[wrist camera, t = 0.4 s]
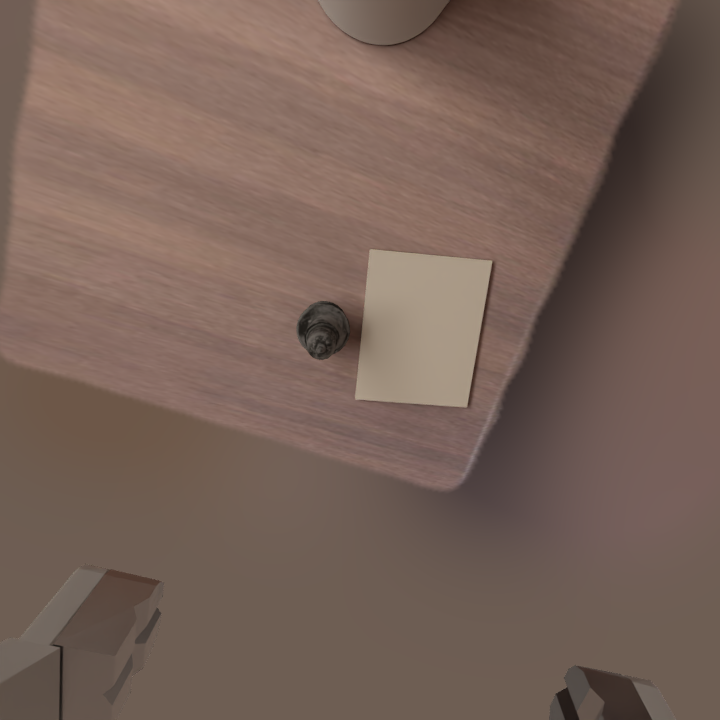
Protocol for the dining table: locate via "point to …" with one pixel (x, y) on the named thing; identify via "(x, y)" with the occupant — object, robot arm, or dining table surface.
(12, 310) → the dining table surface
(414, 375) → the placemat
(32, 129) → the dining table surface
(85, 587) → the robot arm
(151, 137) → the dining table surface
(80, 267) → the dining table surface
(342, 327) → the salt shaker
